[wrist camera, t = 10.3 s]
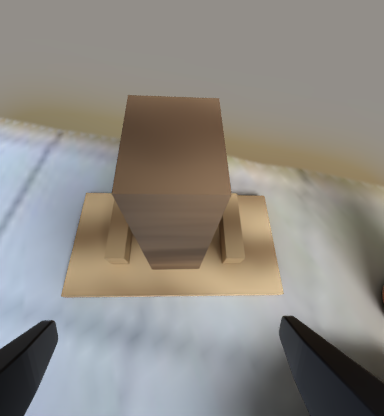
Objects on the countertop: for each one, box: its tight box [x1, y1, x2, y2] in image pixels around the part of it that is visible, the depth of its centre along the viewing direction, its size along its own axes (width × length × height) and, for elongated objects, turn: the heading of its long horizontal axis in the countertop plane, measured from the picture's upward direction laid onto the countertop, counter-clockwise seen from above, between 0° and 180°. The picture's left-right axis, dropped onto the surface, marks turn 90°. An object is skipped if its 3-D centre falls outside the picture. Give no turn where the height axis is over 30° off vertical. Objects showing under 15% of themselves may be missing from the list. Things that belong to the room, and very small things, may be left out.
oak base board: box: [61, 193, 284, 298], centre depth 19 cm, size 10×18×3 cm, turn 91°
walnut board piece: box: [112, 95, 232, 270], centre depth 14 cm, size 5×4×12 cm
